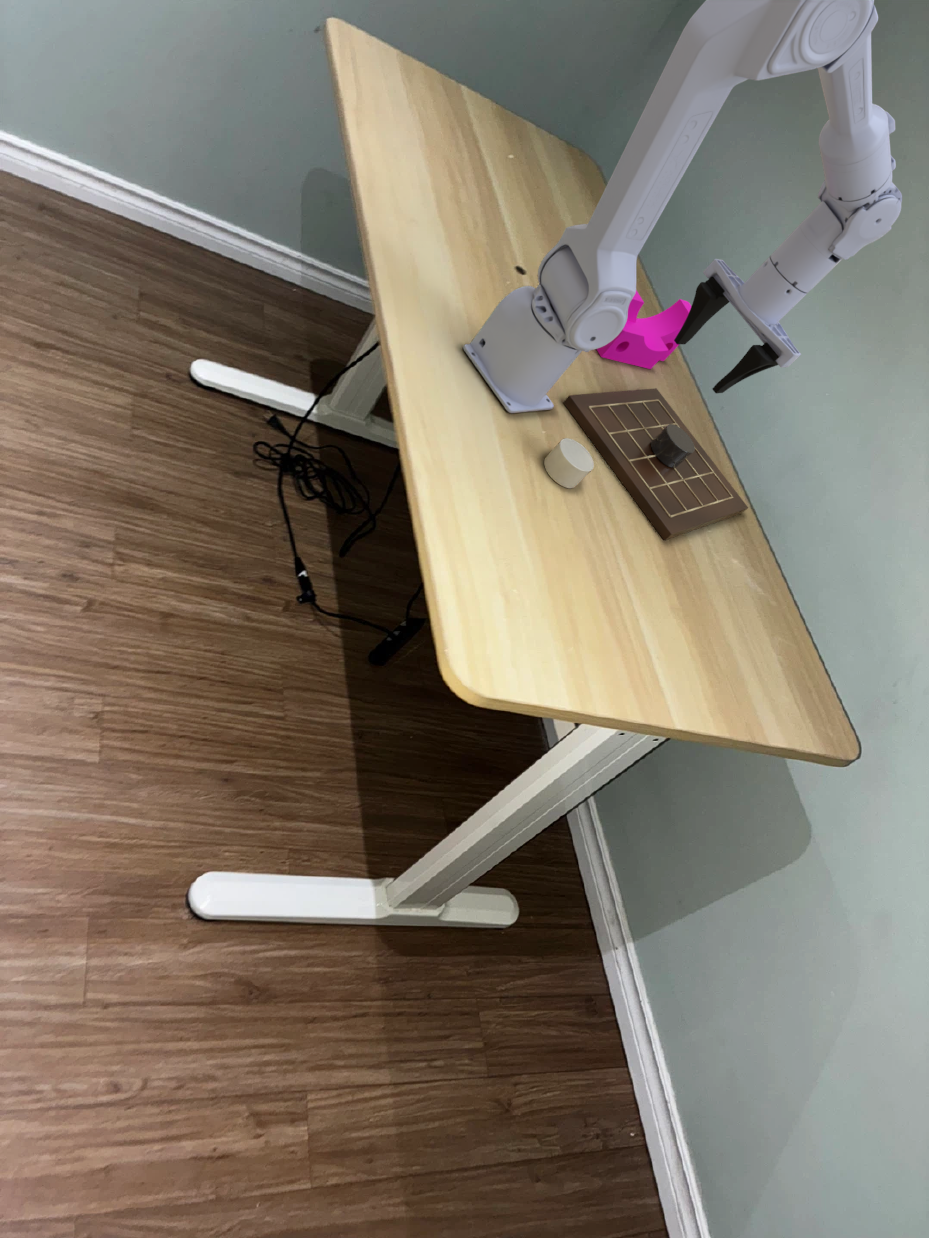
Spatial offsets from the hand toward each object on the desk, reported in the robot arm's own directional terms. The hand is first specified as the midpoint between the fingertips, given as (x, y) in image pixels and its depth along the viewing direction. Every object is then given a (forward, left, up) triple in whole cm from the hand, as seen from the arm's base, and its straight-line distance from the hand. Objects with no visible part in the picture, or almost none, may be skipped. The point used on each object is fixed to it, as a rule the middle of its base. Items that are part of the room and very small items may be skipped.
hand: (698, 366), depth 97 cm
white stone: (+5, -23, -9) cm, 25 cm away
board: (+6, -4, -9) cm, 12 cm away
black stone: (+6, -4, -8) cm, 11 cm away
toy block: (-12, +9, -10) cm, 18 cm away
